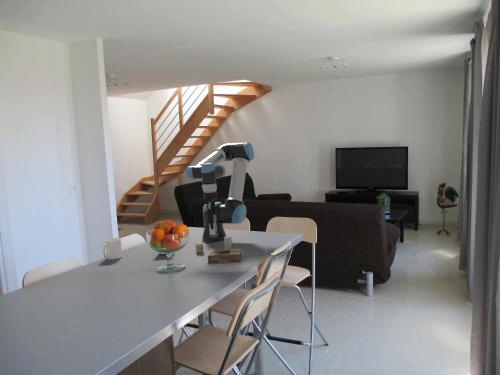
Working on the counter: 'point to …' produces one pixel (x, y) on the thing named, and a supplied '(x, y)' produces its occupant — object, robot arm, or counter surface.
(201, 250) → the short pin
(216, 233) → the long pin
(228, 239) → the medium pin
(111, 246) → the cup
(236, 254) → the hole board
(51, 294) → the counter surface
